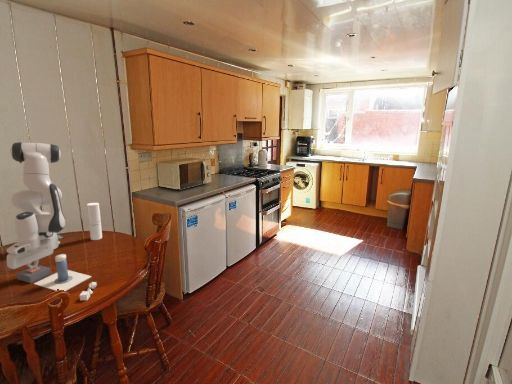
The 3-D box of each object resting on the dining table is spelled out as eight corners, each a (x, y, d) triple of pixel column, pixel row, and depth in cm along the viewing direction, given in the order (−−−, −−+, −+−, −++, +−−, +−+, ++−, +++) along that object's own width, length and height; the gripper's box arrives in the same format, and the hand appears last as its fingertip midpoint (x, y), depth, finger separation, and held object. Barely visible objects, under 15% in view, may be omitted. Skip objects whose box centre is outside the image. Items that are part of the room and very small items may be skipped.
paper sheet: (33, 284, 141) (33, 283, 141) (64, 269, 155) (64, 268, 155) (62, 292, 134) (62, 292, 134) (91, 276, 149) (91, 276, 149)
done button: (26, 275, 146) (26, 270, 145) (35, 271, 150) (35, 266, 149) (32, 277, 144) (31, 271, 144) (41, 273, 149) (40, 267, 148)
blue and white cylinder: (55, 280, 143) (52, 257, 141) (64, 276, 148) (61, 253, 145) (62, 282, 142) (59, 258, 139) (70, 278, 146) (68, 255, 143)
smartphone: (51, 240, 193) (41, 235, 200) (51, 241, 193) (41, 236, 200) (63, 236, 199) (52, 232, 206) (63, 238, 199) (52, 233, 207)
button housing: (17, 279, 144) (16, 273, 144) (38, 270, 154) (37, 264, 153) (30, 283, 141) (29, 276, 140) (51, 273, 150) (50, 267, 150)
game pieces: (87, 300, 129) (86, 294, 128) (79, 301, 129) (79, 295, 128) (98, 286, 141) (97, 280, 140) (91, 286, 140) (90, 280, 139)
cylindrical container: (104, 237, 201) (101, 203, 196) (96, 240, 195) (92, 205, 189) (96, 235, 204) (93, 202, 198) (88, 239, 197) (84, 204, 192)
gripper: (46, 236, 154) (49, 259, 157) (2, 250, 135) (7, 277, 138) (54, 237, 152) (57, 261, 155) (11, 253, 133) (15, 279, 136)
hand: (33, 269), depth 147 cm, fingers closed, pressing on done button
